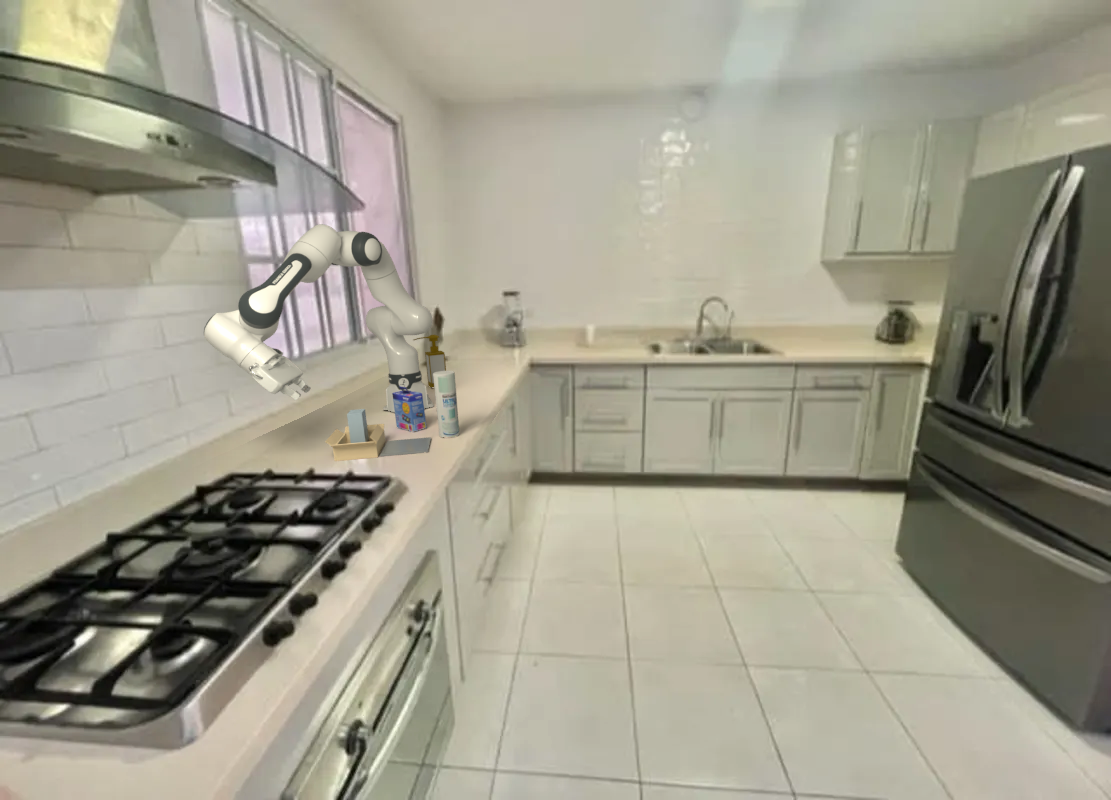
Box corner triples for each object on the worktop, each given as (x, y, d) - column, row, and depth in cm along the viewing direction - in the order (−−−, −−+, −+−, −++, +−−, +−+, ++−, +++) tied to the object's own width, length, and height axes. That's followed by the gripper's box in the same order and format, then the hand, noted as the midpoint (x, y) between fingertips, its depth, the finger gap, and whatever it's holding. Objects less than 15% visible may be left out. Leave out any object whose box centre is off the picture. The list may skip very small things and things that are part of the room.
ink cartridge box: (395, 428, 180) (390, 385, 177) (409, 424, 185) (404, 382, 181) (413, 432, 174) (408, 388, 171) (427, 428, 178) (422, 385, 175)
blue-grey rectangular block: (355, 449, 160) (350, 409, 157) (369, 448, 160) (365, 408, 157) (352, 454, 155) (346, 414, 152) (366, 453, 155) (361, 413, 153)
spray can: (444, 439, 165) (438, 375, 161) (435, 435, 170) (429, 372, 166) (463, 435, 169) (458, 372, 164) (454, 431, 174) (449, 369, 169)
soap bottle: (416, 387, 247) (411, 335, 241) (443, 383, 252) (439, 333, 246) (419, 390, 240) (414, 337, 235) (447, 386, 245) (442, 334, 240)
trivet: (387, 442, 165) (387, 440, 164) (431, 439, 166) (430, 437, 166) (380, 456, 152) (380, 454, 152) (427, 452, 154) (427, 450, 154)
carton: (340, 444, 165) (338, 425, 164) (386, 440, 167) (384, 421, 166) (325, 464, 147) (321, 443, 146) (376, 459, 149) (374, 439, 148)
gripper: (254, 358, 138) (300, 393, 141) (280, 348, 157) (320, 379, 161) (238, 377, 138) (284, 411, 142) (267, 364, 158) (307, 394, 161)
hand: (304, 394), depth 151 cm, fingers open, 8 cm apart
